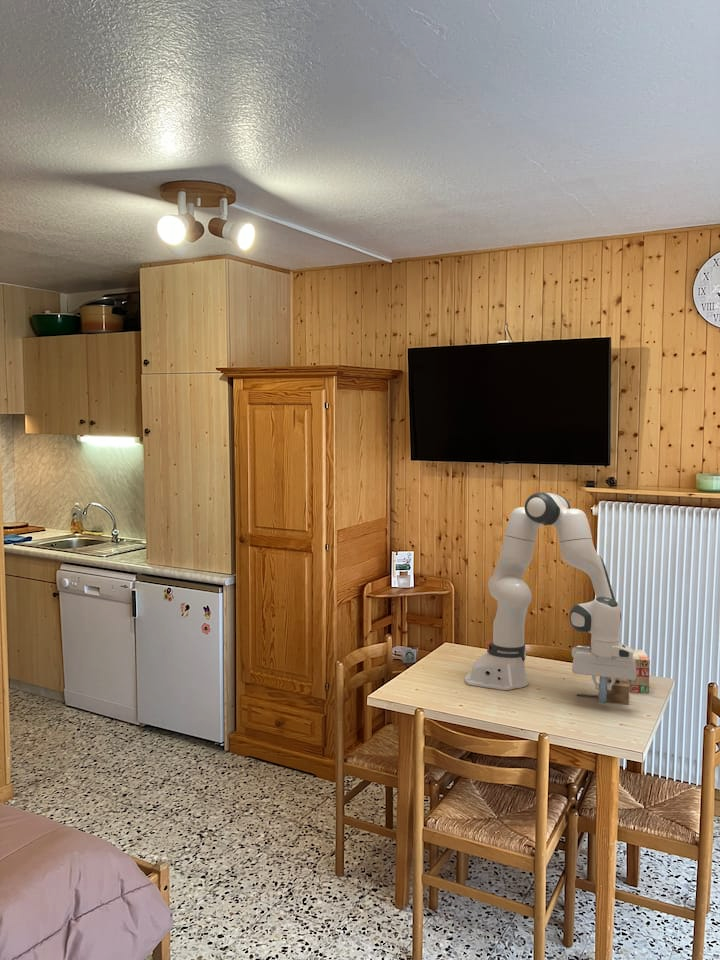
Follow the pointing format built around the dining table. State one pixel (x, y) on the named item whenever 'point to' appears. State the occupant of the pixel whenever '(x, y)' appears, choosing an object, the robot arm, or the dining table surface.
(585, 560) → the robot arm
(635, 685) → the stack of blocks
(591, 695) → the lace
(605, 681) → the blue-grey upright bar
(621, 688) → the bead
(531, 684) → the dining table surface
